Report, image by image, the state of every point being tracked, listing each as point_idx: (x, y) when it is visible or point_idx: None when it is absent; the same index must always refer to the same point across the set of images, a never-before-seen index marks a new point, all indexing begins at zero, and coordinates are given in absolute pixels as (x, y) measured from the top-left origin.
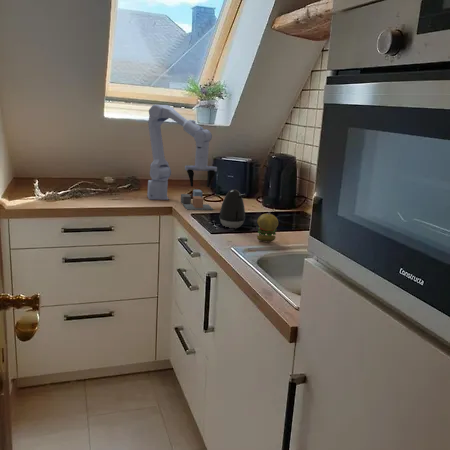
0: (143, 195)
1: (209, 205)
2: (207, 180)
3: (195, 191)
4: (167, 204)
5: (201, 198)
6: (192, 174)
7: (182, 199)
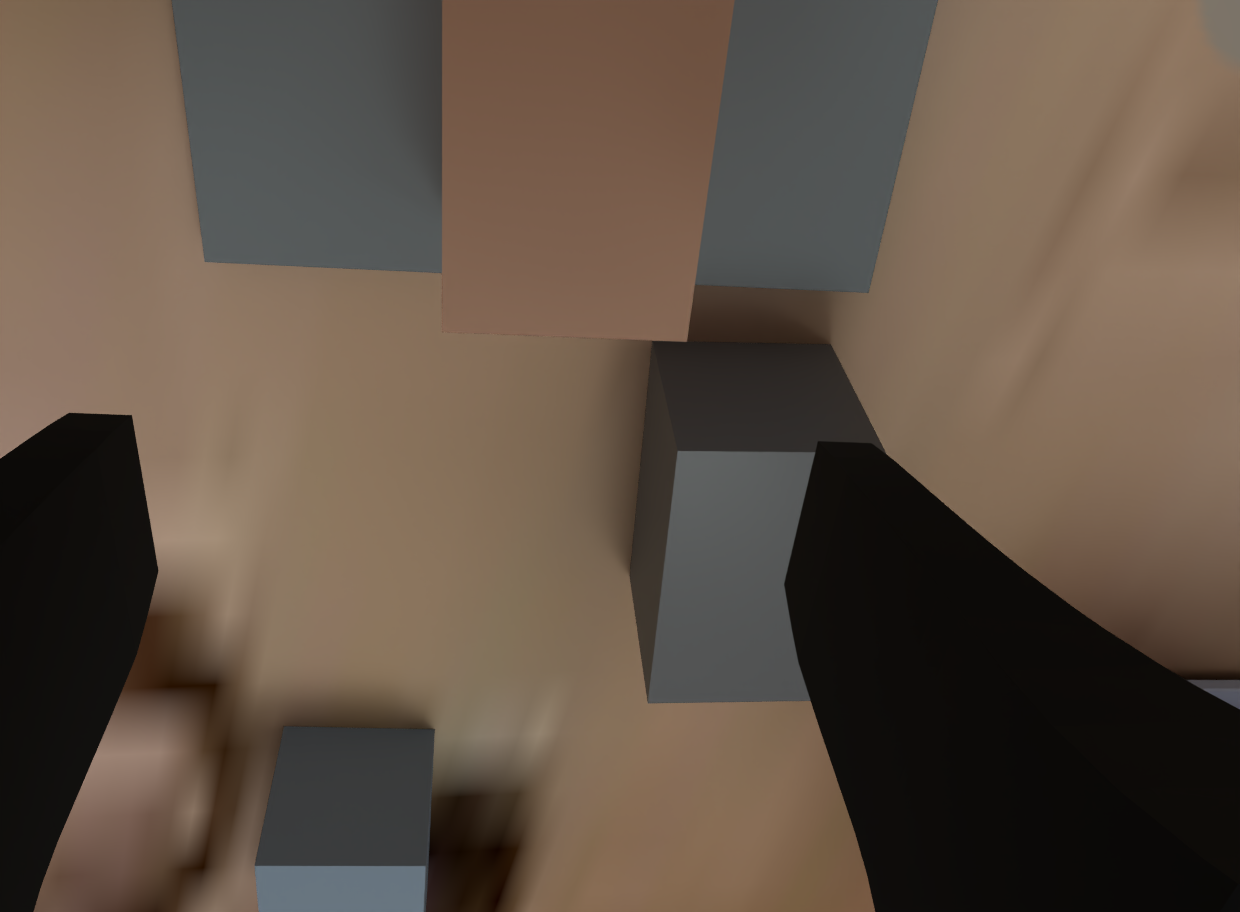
0: None
1: (190, 137)
2: (68, 770)
3: (409, 898)
4: (1169, 363)
5: (487, 1)
6: (1216, 801)
7: None
